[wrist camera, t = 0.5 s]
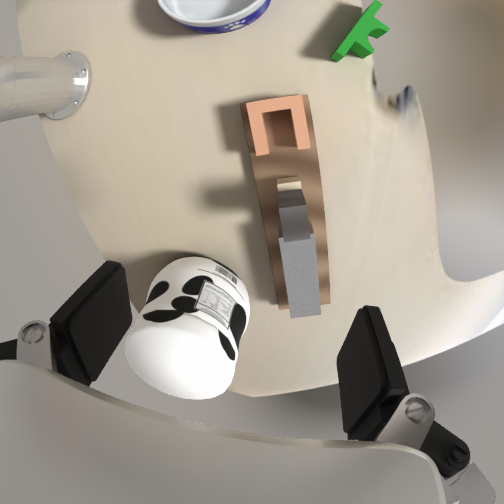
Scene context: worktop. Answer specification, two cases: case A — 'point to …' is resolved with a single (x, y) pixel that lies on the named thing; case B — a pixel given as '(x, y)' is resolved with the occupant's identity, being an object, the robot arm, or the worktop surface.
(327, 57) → the worktop surface
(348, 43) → the pipe clamp
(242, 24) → the dog bowl
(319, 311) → the grey concrete brick
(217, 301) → the milk container
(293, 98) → the socket
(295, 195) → the bar
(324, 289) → the board
